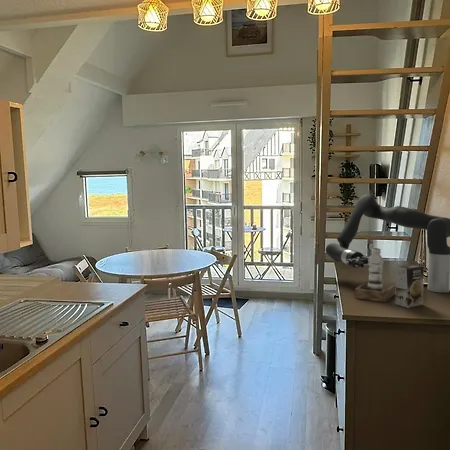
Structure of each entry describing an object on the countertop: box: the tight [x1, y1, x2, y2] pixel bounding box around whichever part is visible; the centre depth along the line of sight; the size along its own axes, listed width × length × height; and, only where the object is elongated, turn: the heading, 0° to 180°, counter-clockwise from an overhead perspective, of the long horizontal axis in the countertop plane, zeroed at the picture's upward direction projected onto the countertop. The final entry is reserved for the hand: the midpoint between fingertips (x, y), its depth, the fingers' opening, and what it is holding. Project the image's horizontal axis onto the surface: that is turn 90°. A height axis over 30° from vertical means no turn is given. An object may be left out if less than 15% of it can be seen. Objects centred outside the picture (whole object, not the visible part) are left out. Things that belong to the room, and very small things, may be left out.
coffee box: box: [395, 263, 425, 309], centre depth 177 cm, size 9×6×16 cm
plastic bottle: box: [367, 247, 384, 292], centre depth 190 cm, size 6×7×20 cm
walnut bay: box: [354, 281, 396, 303], centre depth 191 cm, size 13×15×4 cm
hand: (371, 264), depth 193 cm, fingers open, 8 cm apart
